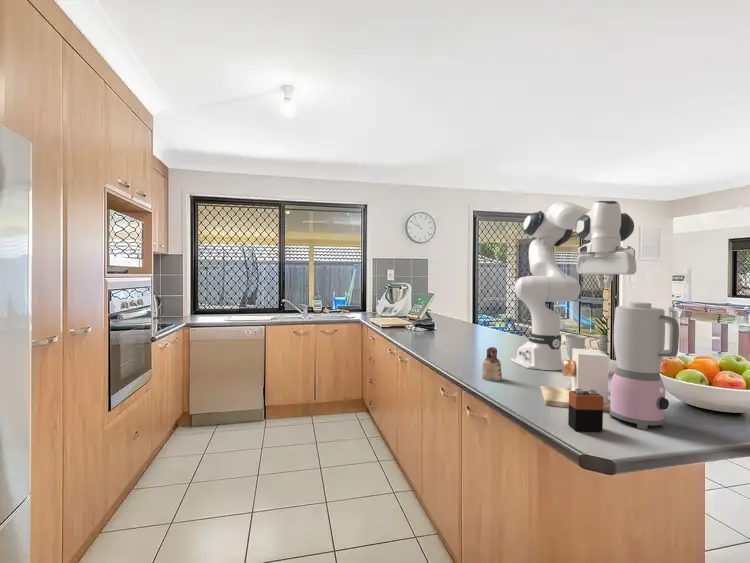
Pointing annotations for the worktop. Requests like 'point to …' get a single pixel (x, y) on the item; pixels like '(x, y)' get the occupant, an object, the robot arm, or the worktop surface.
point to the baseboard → (561, 397)
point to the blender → (641, 363)
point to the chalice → (574, 342)
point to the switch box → (591, 371)
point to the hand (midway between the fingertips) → (604, 287)
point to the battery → (585, 411)
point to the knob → (569, 368)
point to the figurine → (492, 366)
